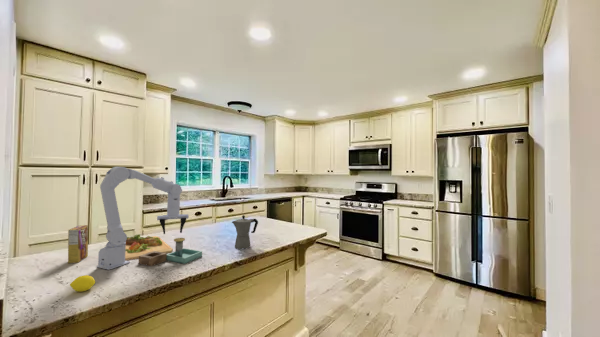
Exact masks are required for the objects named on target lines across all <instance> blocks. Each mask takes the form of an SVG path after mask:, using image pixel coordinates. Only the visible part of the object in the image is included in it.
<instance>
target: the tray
mask: <svg viewBox="0 0 600 337" xmlns="http://www.w3.org/2000/svg"><path fill="white" fill-rule="evenodd" d="M202 257H203V251H202V250H197V249H190V248H185V247H183V257H178V256H175V251H172V252H171V253H167V259H166V261H169V262H173V263H179V264H183V265H185V264H188V263H190V262H192V261H195V260H197V259H199V258H202Z"/></svg>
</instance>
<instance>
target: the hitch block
mask: <svg viewBox="0 0 600 337" xmlns="http://www.w3.org/2000/svg"><path fill="white" fill-rule="evenodd" d="M167 254H168V253H163V252H157V251H152V252H149V253H146V254H143V255H140V256H139V258H138V264H139V265H144V266H149V267H153V266H155V265H158V264H162V263H163V262H164V263H165V262H166V261H167V260H166V259H167Z"/></svg>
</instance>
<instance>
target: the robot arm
mask: <svg viewBox="0 0 600 337" xmlns="http://www.w3.org/2000/svg"><path fill="white" fill-rule="evenodd" d="M133 179H134V180H135V179H136V180H138V181H142V182H144V183H147V184H151V186H152V188H153V189H155V190H158V191H161V192H164V193H167V204H166V205H167V207H166V208H167V209H166V211H167V213H166V214H163V215H162V214H161V215H156V216H157V218H156V220H157V221H159V223H160V225H161V229H162V232H163V235H166V220H167V221H168V220H180V227H179V228H180V229H179V233H180V234H182V233H183V229H184V226H185V224H186V222H187V219H190V218H189V216H190V215H189V214H188V213H187V214H185V213H184V214H181V213H180V211H181V210H180V208H181V207H180V205H181V203H180V200H181V193H182V192H183V188H182V187H181V185H180V184H178V183H174V181H172V180H171V181H170V180H167V179H165V177H164V176H162V177H152V176H150V175H148V174H145V173H143V172H141V171H138V170H135V169H133V168H127V167H125V166H113V167H112V168H111V169H108V171H106V173H105V176H104V178H103V179H102V180H101V183H100V186H99V188H100V193H101V199H102V204H103V208H104V214H105V218H106V220H105V221H106V224H107V226H106V229H107V232H106V235H105V238H106V240H107V241H108V242H107V243H106V244H105V246H104V247H102V248H100V249H99V251H98V258H97V260H98V261H97V265H96V267H97V268H100V269H104V270H108V271H109V270H112V269H116V268H119V267H121V266H124V265H127V264H130V263H131V261H130V260H126V261H125V252H126V240H127V237H128V235H127V234H126V233H125V232H124V227H123V226H122V223H121V218H120V213H119V208H118V201H117V197H116V196H117V195H116V191H115V189H116V188H117V187H118V186H119V185H120V184H121V183H123V182H125V181H127V180H133Z"/></svg>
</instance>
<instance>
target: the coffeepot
mask: <svg viewBox="0 0 600 337" xmlns="http://www.w3.org/2000/svg"><path fill="white" fill-rule="evenodd" d="M241 217H242V218H239V219H236V220H232V222H231V224H233V226H234V227H235V230H236V231H235V232H236V238H235V244H234V248H235V249H237V248H238V249H237V250H243V249H242V248H247V249H249V248H251V239H250V230H251V226H252V225H251V224H252V223H254V226H253V230H252V231H251V234H254V233H255V232H256V230H257V227H258V225H259V221H258V219H256V218H250V219H247V218H246V216H245V214H244V215H241ZM248 247H249V248H248Z"/></svg>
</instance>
